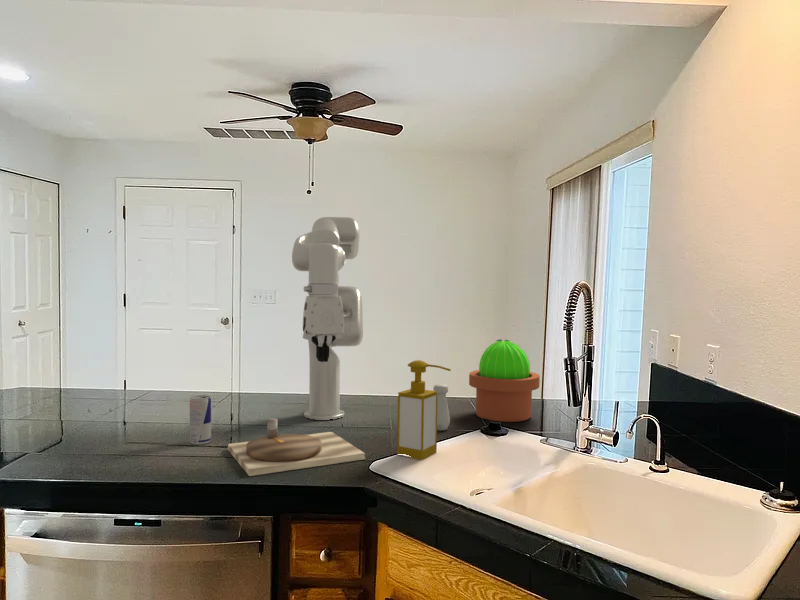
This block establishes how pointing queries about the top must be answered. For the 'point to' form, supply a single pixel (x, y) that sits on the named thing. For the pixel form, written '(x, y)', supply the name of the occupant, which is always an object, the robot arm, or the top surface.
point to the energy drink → (200, 420)
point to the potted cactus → (504, 383)
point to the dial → (282, 445)
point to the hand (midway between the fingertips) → (322, 361)
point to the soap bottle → (417, 416)
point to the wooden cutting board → (330, 454)
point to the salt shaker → (442, 407)
